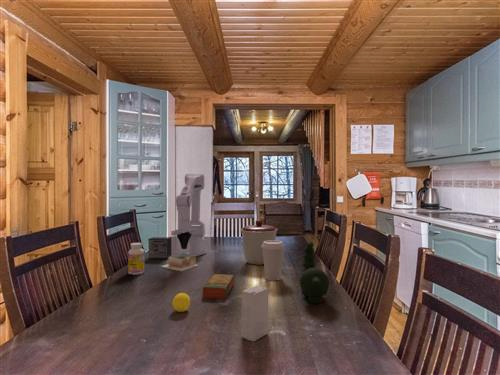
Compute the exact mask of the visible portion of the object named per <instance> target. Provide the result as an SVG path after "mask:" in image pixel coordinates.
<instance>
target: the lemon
mask: <svg viewBox="0 0 500 375" xmlns="http://www.w3.org/2000/svg"><path fill="white" fill-rule="evenodd" d="M171 304H172V307H173V309H174V310H175V311H176V312H179V313H183V312H186V311H187V310H189V309H190V305H191V298H190V296H189V295H188V294H187V293H185V292H180V293H177V294H176V295H175V296H174V298H173V299H172V303H171Z"/></svg>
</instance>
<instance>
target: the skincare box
mask: <svg viewBox="0 0 500 375" xmlns="http://www.w3.org/2000/svg"><path fill="white" fill-rule="evenodd" d="M268 333H269V288H268V287H264V286H260V285H254V286H251V287H249V288H247V289H244V290H242V291H241V337H242V338H244V339H245V340H248V341H250V342H256V341H257V340H259V339H260V338H262V337H264V336H266V335H267V334H268Z"/></svg>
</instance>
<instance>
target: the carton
mask: <svg viewBox="0 0 500 375" xmlns="http://www.w3.org/2000/svg"><path fill="white" fill-rule="evenodd" d="M234 279H235V278H234V274H221V273H220V274H217V273H216V274H215V273H213V274H212V275H211V277H210V278H209V279H208V280H207V282H206V283H204V285H203V286H202V299H222V300H223V299H224V300H226V299H227V298H228V296H229V294H230V292H231V290H232V288H233V286H234Z"/></svg>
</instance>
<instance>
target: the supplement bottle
mask: <svg viewBox="0 0 500 375" xmlns="http://www.w3.org/2000/svg"><path fill="white" fill-rule="evenodd" d="M142 247H143V244H142V242H132V243H130V249H129V250H128V252H127V259H128V260H127V261H128V262H127V264H128V265H127V266H128V267H127V268H128V270H127V272H128V275H131V274H132V275H133V276H137V275H141V274H144V273H145V249H143V248H142Z"/></svg>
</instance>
